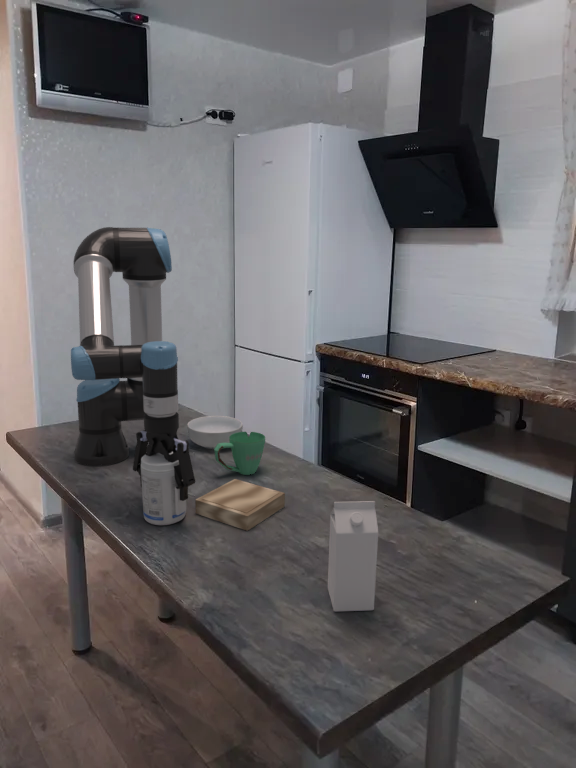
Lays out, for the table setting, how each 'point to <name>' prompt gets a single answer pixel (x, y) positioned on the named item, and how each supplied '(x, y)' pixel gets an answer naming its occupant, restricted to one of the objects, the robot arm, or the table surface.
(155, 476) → the supplement tub
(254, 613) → the table surface
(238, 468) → the mug
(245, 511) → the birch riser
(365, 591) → the milk carton
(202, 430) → the cereal bowl
